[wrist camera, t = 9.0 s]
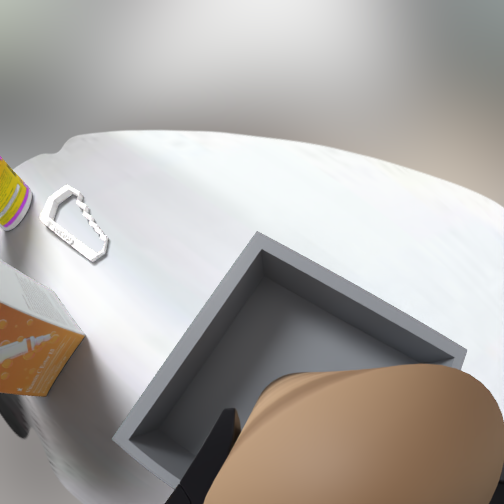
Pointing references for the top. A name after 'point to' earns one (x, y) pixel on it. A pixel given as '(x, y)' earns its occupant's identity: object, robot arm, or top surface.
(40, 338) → the small box
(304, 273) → the grey tote
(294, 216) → the top surface
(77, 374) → the top surface
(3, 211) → the supplement bottle
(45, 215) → the saw cookie cutter
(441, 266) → the top surface
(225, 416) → the robot arm
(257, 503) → the brown cylinder
